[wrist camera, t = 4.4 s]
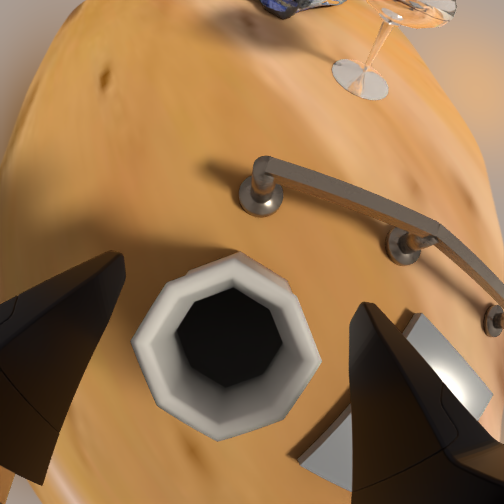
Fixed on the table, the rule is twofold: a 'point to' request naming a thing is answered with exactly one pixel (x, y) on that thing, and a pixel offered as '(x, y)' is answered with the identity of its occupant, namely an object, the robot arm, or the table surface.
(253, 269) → the flask
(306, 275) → the table surface
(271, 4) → the snack package
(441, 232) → the bent rail
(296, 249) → the table surface
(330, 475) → the slate coaster
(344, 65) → the wineglass
